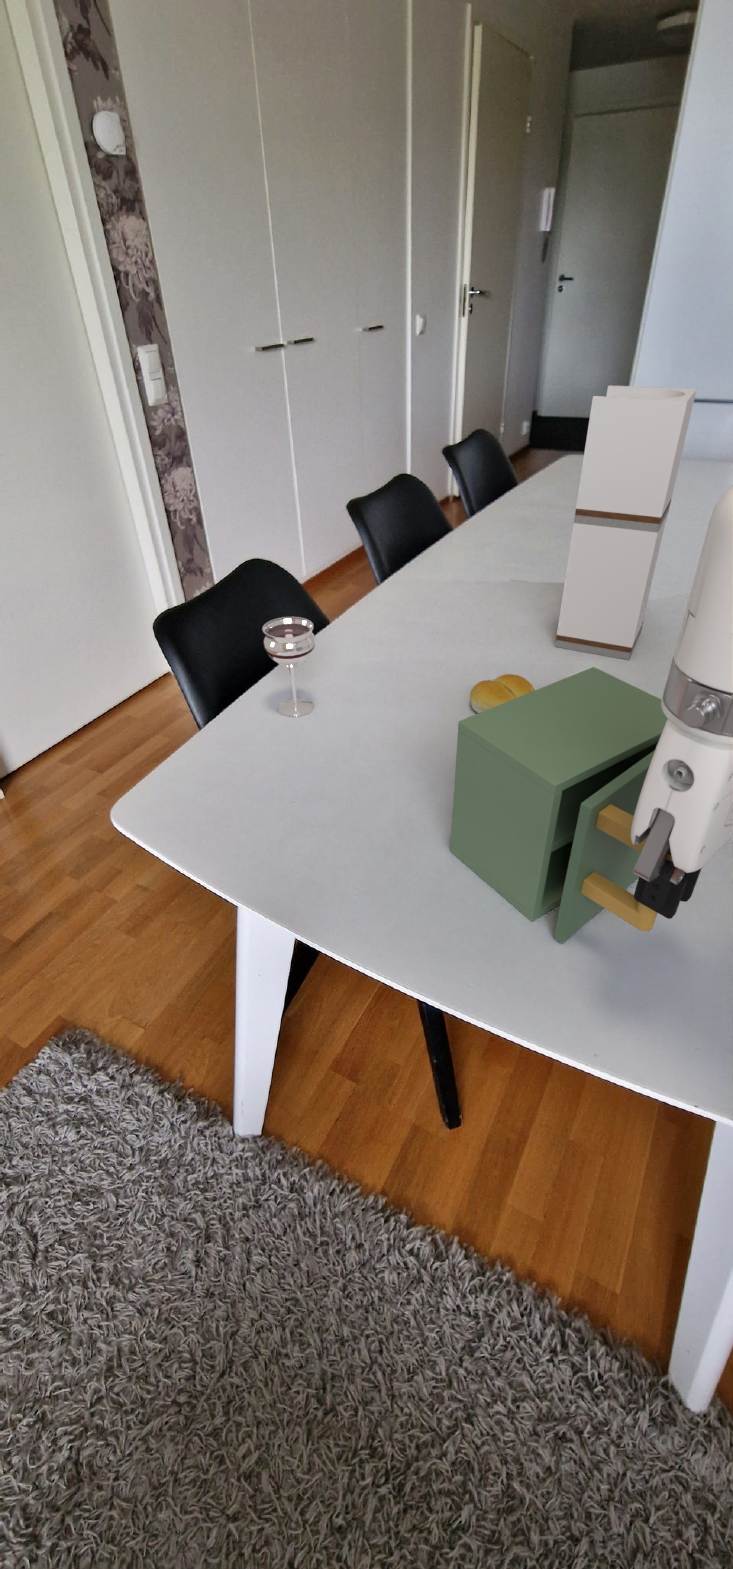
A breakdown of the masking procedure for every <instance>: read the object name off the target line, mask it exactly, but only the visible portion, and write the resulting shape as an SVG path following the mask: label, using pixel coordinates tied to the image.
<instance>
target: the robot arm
mask: <svg viewBox="0 0 733 1569" xmlns="http://www.w3.org/2000/svg"><path fill="white" fill-rule="evenodd" d="M679 631H680V632H679V635H678V639H677V642H676V645H675V646H676V647H675V650H674V653H673V656H672V659H671V663H670V664H671V665H670V668H669V671H668V674H667V679H666V683H665V685H664V690H663V693H662V698H661V700H662V701H661V708H662V710H663V713H664V714H665V716H666V717H667V718H668V719H667V721H666V724H665V726H664V729H663V731H662V734H661V736H660V739H659V742H658V744H657V746H656V750H655V752H654V755H653V758H652V760H651V763H650V766H649V769H648V772H647V775H646V778H645V781H644V784H643V787H642V790H641V793H640V796H639V799H638V803H637V806H636V810H635V814H634V818H633V822H632V827H631V833H630V837H631V841H632V843H633V845H634V846H637V845H639V844H640V843H642V842H643V841H644V840H645V839H646V838H647V837H648V838H647V840H646V842H645V845H644V847H643V849H642V851H641V853H640V856H639V858H638V860H637V862H636V865H635V867H634V869H633V873H634V874H636V875H637V876H639V877H638V878H637V883H636V886H635V890H634V893H633V895H634V899H635V900H636V901H638V902H639V903H641V904H643V905H645V906H646V907H648V908H650V909H652V910H653V911H655V912H657V914H658V915H661V916H662V917H663V918H666V919H668V920H670V919H673V918H674V917H675V915H676V914H677V911H678V908H679V906H680V904H681V903H680V902H684V903H687V902H688V901H689V900H690V899H691V897H692V895H693V893H694V890H695V887H696V885H697V882H698V880H699V876H700V874H701V871H702V869H703V867H704V866H705V865H706V864H707V863H708V862H710V860H712V858H714V856H715V855H716V854H717V853H718V852H719V851H720V850H721V849H722V848H723V847H724V846H725V844H727V842H728V841H730V839H731V838H732V837H733V485H731V486H729V487H728V488H727V489H725V491H724V492H723V493H722V494H721V495H720V496H719V498H718V499H717V501H716V503H715V504H714V506H713V510H712V514H711V515H710V519H709V522H708V526H707V529H706V533H705V536H704V540H703V545H702V548H701V551H700V555H699V559H698V563H697V567H696V571H695V574H694V578H693V582H692V585H691V590H690V593H689V597H688V601H687V604H686V608H685V612H684V616H683V620H682V624H681V627H680V630H679ZM666 853H668V854H670V855H672V860H673V862H672V861H670V860H668V859H666V858H664V857H665V854H666Z"/></svg>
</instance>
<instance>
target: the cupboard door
mask: <svg viewBox="0 0 733 1569" xmlns="http://www.w3.org/2000/svg"><path fill="white" fill-rule="evenodd" d="M654 752H655V750H654V751H653V752H651V753H650V754H649V755H647V756H646V757H644V758H643V759H642V760H640V761H639V762H637V763H636V764H635V765H633V766H632V767H631V768H629V769H628V770H626V771H625V772H624V773H622V774H621V775H619V776H618V777H617V778H615V779H614V780H612V781H611V782H610V783H608V784H607V785H606V786H604V787H603V788H601V789H600V790H599V791H597V792H596V793H594V794H593V795H592V796H590V797H589V798H587V799H586V800H585V801H583V802H582V803H581V806H580V811H579V816H578V821H577V825H576V830H575V835H574V840H573V845H572V850H571V855H570V859H569V864H568V869H567V874H566V879H565V884H564V889H563V893H562V898H561V903H560V905H559V909H558V912H557V919H556V922H555V928H554V931H553V932H554V933H553V939H554V940H556V941H557V942H559V943H560V944H564V943H565V942H566V941H567V940H568V939H570V938H571V937H572V936H573V935H574V934H575V933H577V932H578V931H579V930H580V929H581V928H582V927H583V926H584V925H586V924H587V923H588V922H589V921H590V920H591V919H593V917H595V916H596V915H597V914H598V913H599V912H600V911H601V910H603V909H605V910H607V911H608V912H610V913H612V914H613V915H614V916H616V917H618V918H619V919H621V920H622V921H624V922H626V923H628V924H629V925H631V926H632V927H634V928H636V929H637V930H639V931H641V932H650V931H651V930H653V928H654V925H655V923H656V919H657V917H658V913H657V912H655V911H653V910H652V909H650V908H648V907H646V906H645V905H643V904H641V903H639V902H638V901H636V900H635V899H634V893H631V892H629V891H628V890H626V889H627V888H628V887H629V886H630V885H631V884H633V883H634V881H636V880H638V879H639V876H637V875H636V874H634V873H633V869H634V867H635V865H636V862H637V860H638V858H639V856H640V853H641V851H642V849H643V847H644V845H645V842H646V840H647V838H648V837H647V838H646V839H645V840H644V841H643V842H642V843H640V844H639V845H637V846H634V845H633V843H632V841H631V837H630V833H631V827H632V822H633V818H634V814H635V810H636V806H637V803H638V799H639V796H640V793H641V790H642V787H643V784H644V781H645V778H646V775H647V772H648V769H649V766H650V763H651V760H652V758H653V755H654ZM664 858H666V859H668V860H670V861H672V862H673V860H672V855H670V854H668V853H666V854H665V857H664Z"/></svg>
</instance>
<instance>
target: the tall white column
mask: <svg viewBox="0 0 733 1569" xmlns="http://www.w3.org/2000/svg"><path fill="white" fill-rule="evenodd" d="M696 393H697V388H686V387H685V388H682V387H681V388H680V387H660V386H659V387H658V386H657V387H656V386H634V385H612V384H611V385H608V386H607V390H606V395H605V396H604V395H593V396H592V401H591V407H590V414H589V420H588V426H587V433H586V440H585V445H584V452H583V459H582V464H581V465H582V466H581V472H580V479H579V486H578V491H577V492H578V493H577V499H576V504H575V505H576V506H575V512H574V519H573V524H572V531H571V536H570V537H571V538H570V544H569V552H568V558H567V564H566V569H565V570H566V571H565V576H564V584H563V591H562V597H561V604H560V610H559V615H558V616H559V617H558V622H557V623H558V624H557V631H556V635H555V636H556V637H555V643H554V648H560V649H565V650H571V651H576V652H582V653H587V654H593V655H599V656H604V657H609V658H615V659H621V660H626V661H630V659H631V657H632V654H633V652H634V650H635V647H636V645H637V643H638V641H639V639H640V636H641V633H642V630H643V626H644V618H645V614H646V609H647V606H648V600H649V596H650V592H651V587H652V583H653V579H654V574H655V570H656V565H657V561H658V557H659V554H660V548H661V544H662V539H663V534H664V531H665V526H666V523H667V521H668V516H669V512H670V507H671V503H672V498H673V493H674V490H675V485H676V481H677V476H678V473H679V468H680V463H681V458H682V455H683V451H684V446H685V441H686V438H687V434H688V428H689V424H690V421H691V415H692V411H693V408H694V404H695V403H694V402H695V398H696V395H697V394H696Z"/></svg>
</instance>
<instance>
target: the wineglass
mask: <svg viewBox="0 0 733 1569" xmlns="http://www.w3.org/2000/svg"><path fill="white" fill-rule="evenodd" d="M261 630H262V633H263V634H264V637H263V648H264V651H265V653H266V654H267V656H268V658H269V659H271V660H272V661H274V662H275V663H277V664H278V665H282V666H285V667H286V668H288V671H289V678H290V685H291V690H292V691H291V692H292V698H291V699H287V700H284V701H283V702H281V703H280V704H279V705H278V706H277V710H278V713H280V714H281V715H282V716H285V717H291V718H295V717H302V716H305V715H308V714H310V713H311V712H313V710H314V704H313V702H312V701H310V700H308V699H306V698H297V682H296V681H297V680H296V668H297V666H299V665H301V664H303V663H305V662H306V661H307V660H308V659H309V658H310V657H311V656H312V654H313V653H314V650H315V648H316V647H315V646H316V637H315V634H314V633H313V630H314V623H313V622H312V620H309V619H308V618H305V617H301V616H282V617H278V618H274V619H271V620H269V621H267V622H266V623H264V624H263V625H262V628H261Z"/></svg>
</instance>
